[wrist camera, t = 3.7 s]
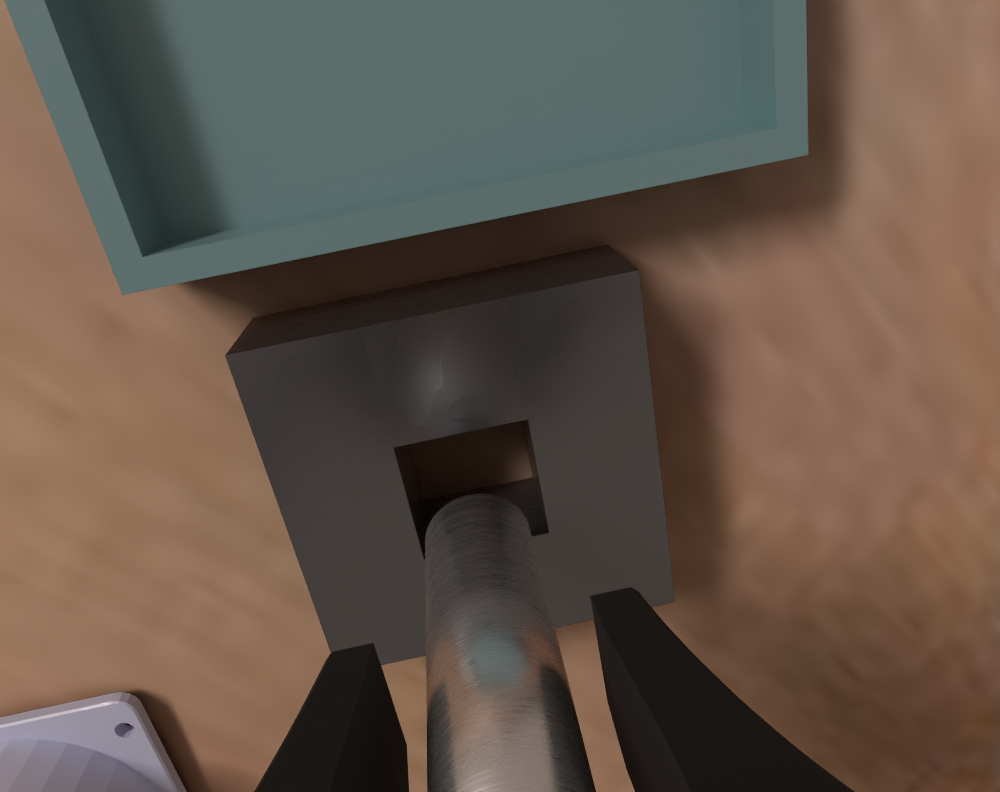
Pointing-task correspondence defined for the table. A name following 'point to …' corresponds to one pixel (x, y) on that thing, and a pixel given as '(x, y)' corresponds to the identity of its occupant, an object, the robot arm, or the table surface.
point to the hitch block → (454, 410)
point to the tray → (394, 114)
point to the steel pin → (494, 659)
